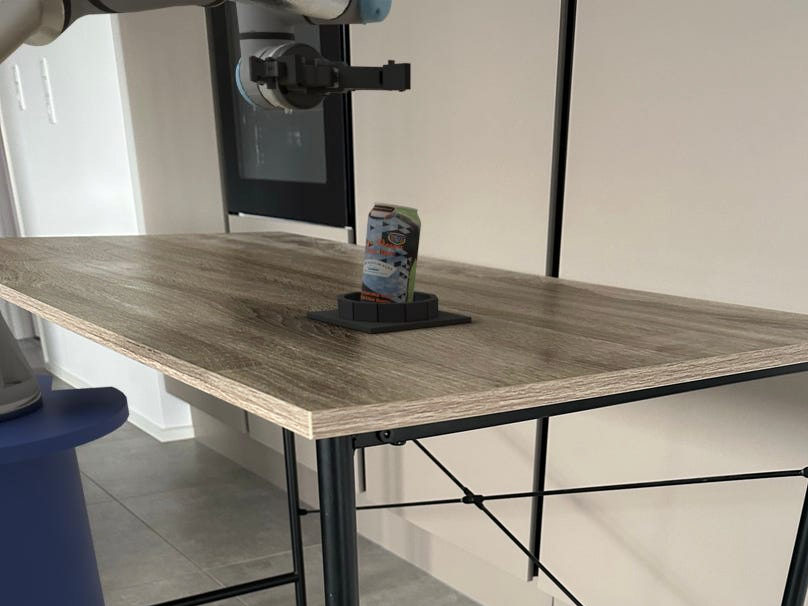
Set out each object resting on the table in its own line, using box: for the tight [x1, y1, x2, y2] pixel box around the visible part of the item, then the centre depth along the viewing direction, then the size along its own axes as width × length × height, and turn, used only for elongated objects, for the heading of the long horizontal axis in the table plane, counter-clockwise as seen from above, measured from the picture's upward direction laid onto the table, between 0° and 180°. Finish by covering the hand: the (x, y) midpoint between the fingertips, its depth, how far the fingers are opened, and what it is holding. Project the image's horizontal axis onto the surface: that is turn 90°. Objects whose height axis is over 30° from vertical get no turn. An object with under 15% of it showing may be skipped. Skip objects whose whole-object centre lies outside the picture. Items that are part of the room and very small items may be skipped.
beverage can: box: [360, 201, 422, 303], centre depth 108 cm, size 6×7×12 cm
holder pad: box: [306, 290, 472, 334], centre depth 110 cm, size 14×14×3 cm
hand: (354, 72), depth 109 cm, fingers open, 13 cm apart
